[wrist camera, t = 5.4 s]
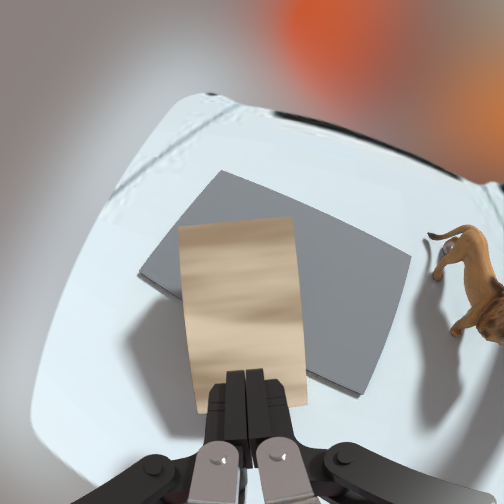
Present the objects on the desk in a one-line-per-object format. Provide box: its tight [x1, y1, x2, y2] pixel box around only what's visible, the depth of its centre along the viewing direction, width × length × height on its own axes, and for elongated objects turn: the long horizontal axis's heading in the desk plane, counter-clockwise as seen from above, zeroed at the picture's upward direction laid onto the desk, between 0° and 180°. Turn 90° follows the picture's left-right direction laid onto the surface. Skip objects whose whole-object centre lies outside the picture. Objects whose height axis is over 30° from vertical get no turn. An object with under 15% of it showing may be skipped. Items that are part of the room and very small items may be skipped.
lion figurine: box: [427, 225, 504, 345], centre depth 18 cm, size 15×5×9 cm, turn 15°
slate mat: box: [139, 170, 411, 395], centre depth 24 cm, size 14×22×1 cm, turn 60°
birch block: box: [178, 216, 308, 414], centre depth 18 cm, size 4×7×12 cm
